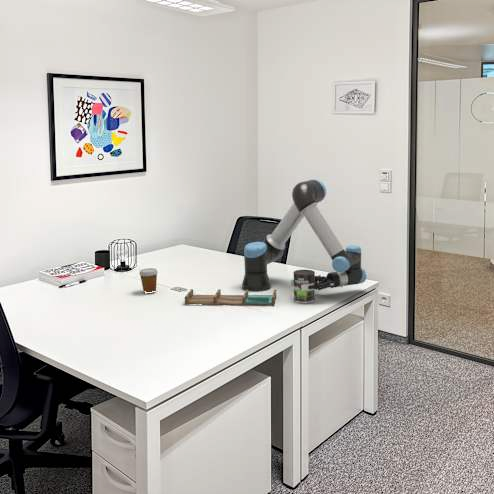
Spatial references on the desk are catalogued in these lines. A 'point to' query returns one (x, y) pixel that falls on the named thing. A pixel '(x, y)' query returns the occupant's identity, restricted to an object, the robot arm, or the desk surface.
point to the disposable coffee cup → (149, 279)
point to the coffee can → (301, 279)
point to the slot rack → (231, 299)
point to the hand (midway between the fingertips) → (296, 285)
